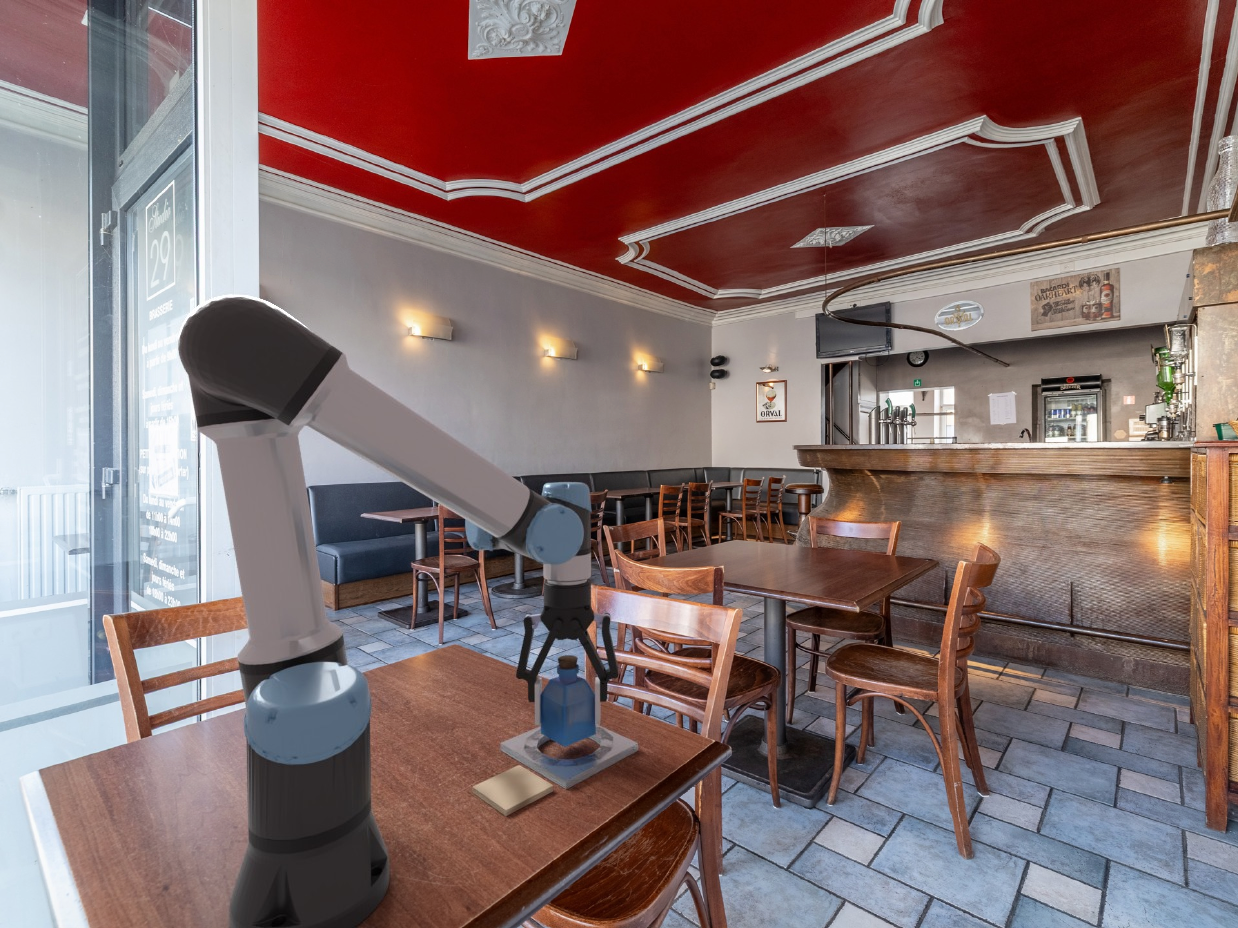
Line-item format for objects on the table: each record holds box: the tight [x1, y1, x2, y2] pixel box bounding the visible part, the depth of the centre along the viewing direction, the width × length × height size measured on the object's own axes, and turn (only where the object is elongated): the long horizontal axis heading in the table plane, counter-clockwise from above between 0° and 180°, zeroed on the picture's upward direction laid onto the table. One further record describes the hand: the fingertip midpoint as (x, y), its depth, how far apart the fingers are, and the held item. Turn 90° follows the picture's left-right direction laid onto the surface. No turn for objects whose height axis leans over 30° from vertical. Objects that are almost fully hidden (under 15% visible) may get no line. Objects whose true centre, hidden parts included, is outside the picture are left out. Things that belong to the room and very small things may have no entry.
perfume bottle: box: [540, 654, 596, 748], centre depth 94 cm, size 6×6×12 cm
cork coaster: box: [471, 764, 554, 817], centre depth 83 cm, size 8×8×1 cm
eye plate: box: [500, 725, 639, 790], centre depth 95 cm, size 15×16×1 cm
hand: (568, 721), depth 94 cm, fingers closed on perfume bottle, 9 cm apart
